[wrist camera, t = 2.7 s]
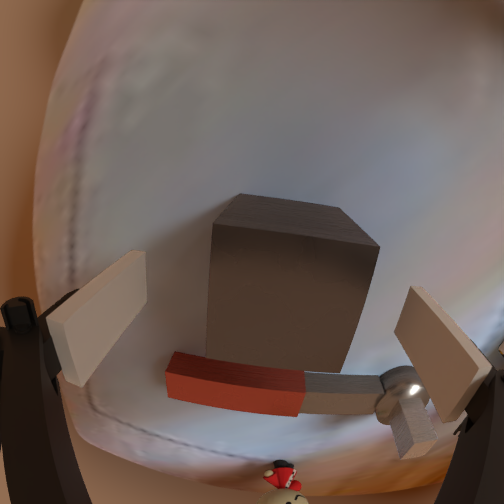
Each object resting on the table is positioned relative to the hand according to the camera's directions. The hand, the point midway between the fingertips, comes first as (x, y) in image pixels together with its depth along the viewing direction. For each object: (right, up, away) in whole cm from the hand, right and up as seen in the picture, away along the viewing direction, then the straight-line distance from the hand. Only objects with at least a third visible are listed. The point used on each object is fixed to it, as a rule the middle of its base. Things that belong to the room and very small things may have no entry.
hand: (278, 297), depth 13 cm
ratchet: (+4, -9, +10) cm, 14 cm away
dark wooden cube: (+1, +2, +6) cm, 6 cm away
